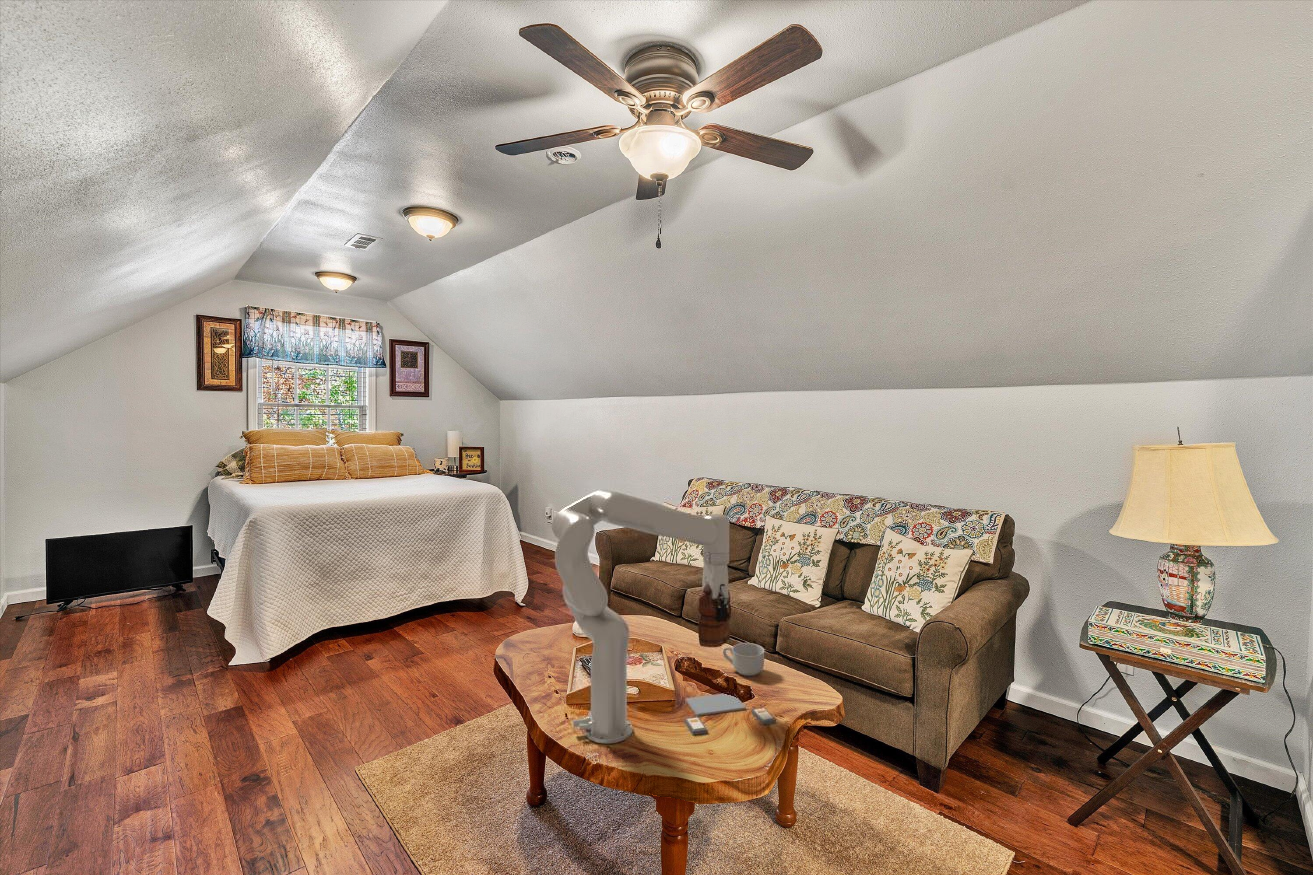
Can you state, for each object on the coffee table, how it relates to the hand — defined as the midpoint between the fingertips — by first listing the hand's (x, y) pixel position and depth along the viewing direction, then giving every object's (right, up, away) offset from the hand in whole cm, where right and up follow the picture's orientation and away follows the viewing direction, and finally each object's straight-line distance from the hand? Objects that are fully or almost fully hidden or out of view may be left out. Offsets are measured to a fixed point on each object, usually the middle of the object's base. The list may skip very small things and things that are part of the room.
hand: (715, 616), depth 169 cm
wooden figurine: (0, -8, 0) cm, 8 cm away
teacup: (+12, -26, +25) cm, 38 cm away
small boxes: (+3, -26, -10) cm, 28 cm away
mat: (0, -26, 0) cm, 26 cm away
